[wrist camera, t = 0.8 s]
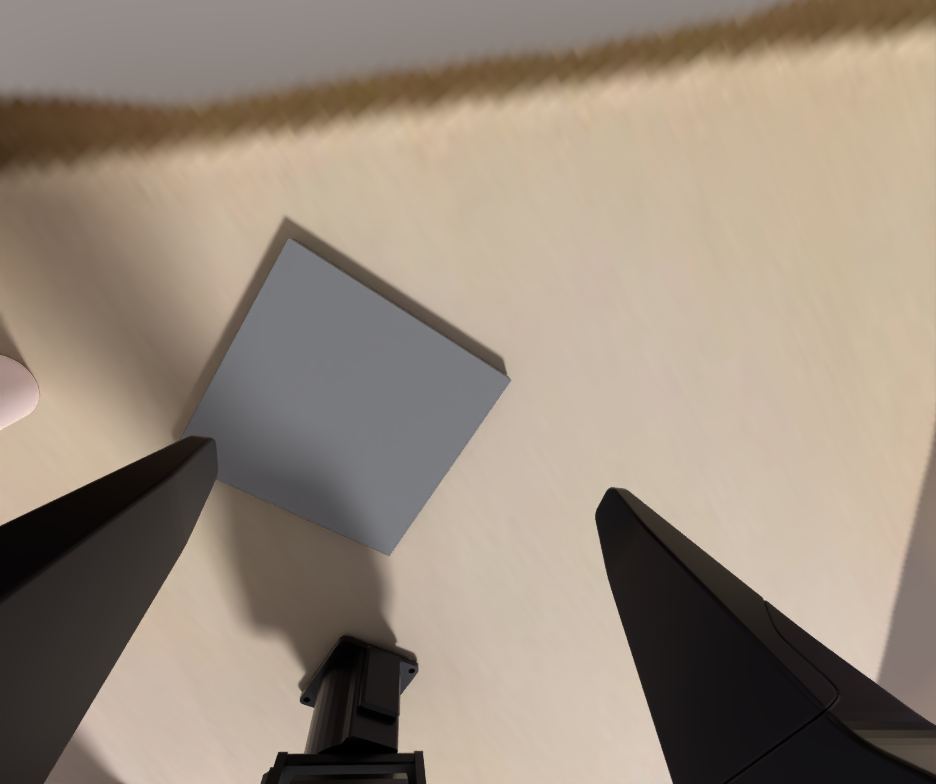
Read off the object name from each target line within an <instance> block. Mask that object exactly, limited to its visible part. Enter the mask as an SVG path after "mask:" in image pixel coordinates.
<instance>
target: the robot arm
mask: <svg viewBox="0 0 936 784" xmlns="http://www.w3.org/2000/svg"><path fill="white" fill-rule="evenodd" d="M217 474H218V458H217V446H216V441H215V439H214V438H212V437H208V436H200V435H191V436H188V437H186V438H184V439H182V440H180V441H177V442H175V443H173V444H171V445H169V446H167V447H165V448H163V449H161V450H159V451H156V452H154V453H152V454H150V455H148V456H146V457H144V458H142V459H140V460H138V461H135V462H133V463H131V464H129V465H127V466H125V467H123V468H121V469H119V470H117V471H114V472H112V473H110V474H108V475H106V476H104V477H102V478H100V479H98V480H95V481H93V482H91V483H89V484H87V485H85V486H83V487H81V488H79V489H77V490H74V491H72V492H70V493H68V494H66V495H64V496H62V497H60V498H58V499H56V500H53V501H51V502H49V503H47V504H45V505H43V506H41V507H39V508H37V509H35V510H32V511H30V512H28V513H26V514H24V515H22V516H20V517H18V518H16V519H14V520H11V521H9V522H7V523H5V524H3V525H1V526H0V784H44V782H45V781H46V779H47V777H48V776H49V774H50V772H51V771H52V769H53V767H54V766H55V764H56V762H57V761H58V759H59V757H60V756H61V754H62V752H63V751H64V749H65V747H66V746H67V744H68V742H69V741H70V739H71V737H72V735H73V734H74V732H75V730H76V729H77V727H78V725H79V724H80V722H81V720H82V719H83V717H84V715H85V714H86V712H87V710H88V709H89V707H90V705H91V704H92V702H93V700H94V699H95V697H96V695H97V694H98V692H99V690H100V689H101V687H102V685H103V684H104V682H105V680H106V679H107V677H108V675H109V674H110V672H111V670H112V668H113V667H114V665H115V663H116V662H117V660H118V658H119V657H120V655H121V653H122V652H123V650H124V648H125V647H126V645H127V643H128V642H129V640H130V638H131V637H132V635H133V633H134V632H135V630H136V628H137V627H138V625H139V623H140V622H141V620H142V618H143V617H144V615H145V613H146V612H147V610H148V608H149V607H150V605H151V603H152V601H153V600H154V598H155V596H156V595H157V593H158V591H159V590H160V588H161V586H162V585H163V583H164V581H165V580H166V578H167V576H168V575H169V573H170V571H171V570H172V568H173V566H174V565H175V563H176V561H177V560H178V558H179V556H180V554H181V553H182V551H183V549H184V547H185V546H186V544H187V542H188V539H189V537H190V535H191V533H192V531H193V529H194V527H195V524H196V522H197V520H198V518H199V516H200V513H201V511H202V509H203V507H204V504H205V502H206V500H207V498H208V496H209V493H210V491H211V489H212V487H213V484H214V482H215V480H216V478H217ZM595 520H596V525H597V530H598V535H599V539H600V544H601V549H602V554H603V558H604V563H605V568H606V572H607V576H608V580H609V583H610V587H611V590H612V593H613V596H614V600H615V603H616V606H617V609H618V612H619V615H620V618H621V622H622V625H623V628H624V631H625V634H626V637H627V640H628V644H629V647H630V650H631V653H632V656H633V659H634V663H635V666H636V669H637V672H638V675H639V678H640V681H641V685H642V688H643V691H644V694H645V697H646V700H647V703H648V707H649V710H650V713H651V716H652V719H653V722H654V726H655V729H656V732H657V735H658V738H659V741H660V744H661V748H662V751H663V754H664V757H665V760H666V763H667V766H668V770H669V773H670V776H671V779H672V782H673V784H936V725H934V724H933V723H931V722H929V721H928V720H926V719H925V718H923V717H922V716H921V715H919V714H918V713H916V712H915V711H913V710H912V709H911V708H909V707H908V706H906V705H905V704H904V703H902V702H901V701H900V700H898V699H897V698H896V697H894V696H893V695H891V694H890V693H889V692H887V691H886V690H885V689H883V688H882V687H880V686H879V685H878V684H876V683H875V682H874V681H872V680H871V679H869V678H868V677H867V676H865V675H864V674H863V673H861V672H860V671H858V670H857V669H856V668H854V667H853V666H852V665H850V664H849V663H847V662H846V661H845V660H843V659H842V658H841V657H839V656H838V655H837V654H835V653H834V652H833V651H831V650H830V649H828V648H827V647H826V646H824V645H823V644H822V643H820V642H819V641H818V640H816V639H815V638H814V637H812V636H811V635H810V634H808V633H807V632H806V631H804V630H803V629H802V628H801V627H799V626H798V625H797V624H795V623H794V622H793V621H792V620H790V619H789V618H788V617H786V616H785V615H784V614H783V613H781V612H780V611H779V610H778V609H776V608H775V607H774V606H773V605H771V604H770V603H769V602H768V601H766V600H763V598H762V597H761V596H760V595H759V594H757V593H756V592H755V591H754V590H752V589H751V588H750V587H749V586H747V585H746V584H745V583H744V582H742V581H741V580H740V579H739V578H737V577H736V576H735V575H734V574H732V573H731V572H730V571H729V570H727V569H726V568H725V567H724V566H722V565H721V564H720V563H719V562H717V561H716V560H715V559H713V558H712V557H711V556H710V555H708V554H707V553H706V552H705V551H703V550H702V549H701V548H700V547H698V546H697V545H696V544H695V543H693V542H692V541H691V540H690V539H688V538H687V537H686V536H685V535H683V534H682V533H681V532H680V531H678V530H677V529H676V528H675V527H673V526H672V525H671V524H670V523H668V522H667V521H666V520H665V519H663V518H662V517H661V516H660V515H658V514H657V513H656V512H654V511H653V510H652V509H651V508H649V507H648V506H647V505H646V504H644V503H643V502H642V501H641V500H639V499H638V498H637V497H636V496H634V495H633V494H632V493H631V492H629V491H628V490H626V489H623V488H615V487H611V488H609V489H608V490H607V491H606V493H605V495H604V497H603V498H602V500H601V502H600V504H599V506H598V508H597V510H596V514H595ZM411 668H412V669H411ZM417 673H418V663H417V662H416V661H413V660H410V659H408V658H405V657H402V656H400V655H397V654H394V653H392V652H389V651H386V650H384V649H381V648H378V647H376V646H373V645H370V644H368V643H365V642H362V641H360V640H357V639H354V638H352V637H349V636H343V637H341V638H340V639H339V640H338V641H337V643H336V644H335V646H334V647H333V649H332V650H331V651H330V653H329V654H328V656H327V657H326V659H325V660H324V661H323V663H322V664H321V666H320V667H319V669H318V670H317V671H316V673H315V674H314V676H313V677H312V679H311V680H310V681H309V683H308V684H307V686H306V687H305V689H304V690H303V691H302V693H301V697H300V702H301V703H302V704H304V705H307V706H310V707H313V708H314V711H313V716H312V720H311V725H310V729H309V734H308V738H307V743H306V747H305V752H304V754H288V752H278V755H277V758H276V761H275V764H274V767H270V770H269V771H268V772H267V773H265V774H264V775H263V778H262V781H261V784H426V778H425V768H424V758H423V751H414V753H397V752H398V730H399V715H400V695H401V694H402V693H403V691H404V690H405V689H406V687H407V686H408V685H409V683H410V682H411V681H412V679H413V678H414V677H415V675H416V674H417Z"/></svg>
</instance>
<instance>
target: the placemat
mask: <svg viewBox="0 0 936 784" xmlns="http://www.w3.org/2000/svg"><path fill="white" fill-rule="evenodd" d="M510 381H511V379H510V378H509V377H508V376H507V375H505V374H504V373H502V372H501V371H499V370H498V369H496V368H494V367H493V366H491V365H490V364H488V363H487V362H485V361H484V360H482V359H480V358H479V357H477V356H476V355H474V354H473V353H471V352H469V351H468V350H466V349H465V348H463V347H462V346H460V345H459V344H457V343H455V342H454V341H452V340H451V339H449V338H448V337H446V336H445V335H443V334H441V333H440V332H438V331H437V330H435V329H434V328H432V327H430V326H429V325H427V324H426V323H424V322H423V321H421V320H420V319H418V318H416V317H415V316H413V315H412V314H410V313H409V312H407V311H405V310H404V309H402V308H401V307H399V306H398V305H396V304H395V303H393V302H391V301H390V300H388V299H387V298H385V297H384V296H382V295H380V294H379V293H377V292H376V291H374V290H373V289H371V288H370V287H368V286H366V285H365V284H363V283H362V282H360V281H359V280H357V279H355V278H354V277H352V276H351V275H349V274H348V273H346V272H345V271H343V270H341V269H340V268H338V267H337V266H335V265H334V264H332V263H331V262H329V261H327V260H326V259H324V258H323V257H321V256H320V255H318V254H316V253H315V252H313V251H312V250H310V249H309V248H307V247H306V246H304V245H302V244H301V243H299V242H298V241H296V240H295V239H291V238H288V240H287V242H286V244H285V246H284V247H283V249H282V251H281V253H280V255H279V257H278V259H277V260H276V262H275V264H274V266H273V268H272V270H271V272H270V273H269V275H268V277H267V279H266V281H265V283H264V285H263V286H262V288H261V290H260V292H259V294H258V296H257V298H256V299H255V301H254V303H253V305H252V307H251V309H250V311H249V313H248V314H247V316H246V318H245V320H244V322H243V324H242V326H241V327H240V329H239V331H238V333H237V335H236V337H235V339H234V340H233V342H232V344H231V346H230V348H229V350H228V352H227V353H226V355H225V357H224V359H223V361H222V363H221V365H220V366H219V368H218V370H217V372H216V374H215V376H214V378H213V379H212V381H211V383H210V385H209V387H208V389H207V391H206V392H205V394H204V396H203V398H202V400H201V402H200V404H199V406H198V407H197V409H196V411H195V413H194V415H193V417H192V419H191V420H190V422H189V424H188V426H187V428H186V430H185V432H184V433H183V435H182V437H181V439H180V440H182V439H184V438H186V437H188V436H191V435H200V436H208V437H212V438H214V439H215V441H216V446H217V458H218V474H217V478H216V479H217V480H219V481H222V482H224V483H226V484H228V485H230V486H233V487H235V488H237V489H239V490H242V491H244V492H246V493H248V494H251V495H253V496H255V497H257V498H260V499H262V500H264V501H266V502H269V503H271V504H273V505H275V506H278V507H280V508H282V509H284V510H287V511H289V512H291V513H293V514H296V515H298V516H300V517H302V518H305V519H307V520H309V521H311V522H314V523H316V524H318V525H320V526H322V527H325V528H327V529H329V530H331V531H334V532H336V533H338V534H340V535H343V536H345V537H347V538H349V539H352V540H354V541H356V542H358V543H361V544H363V545H365V546H367V547H370V548H372V549H374V550H376V551H379V552H381V553H383V554H385V555H388V556H390V554H391V553H392V551H393V550H394V548H395V547H396V546H397V544H398V543H399V541H400V540H401V538H402V537H403V536H404V534H405V533H406V531H407V530H408V528H409V527H410V525H411V524H412V523H413V521H414V520H415V518H416V517H417V515H418V514H419V512H420V511H421V510H422V508H423V507H424V505H425V504H426V502H427V501H428V499H429V498H430V497H431V495H432V494H433V492H434V491H435V489H436V488H437V487H438V485H439V484H440V482H441V481H442V479H443V478H444V476H445V475H446V474H447V472H448V471H449V469H450V468H451V466H452V465H453V463H454V462H455V461H456V459H457V458H458V456H459V455H460V453H461V452H462V450H463V449H464V448H465V446H466V445H467V443H468V442H469V440H470V439H471V437H472V436H473V435H474V433H475V432H476V430H477V429H478V427H479V426H480V425H481V423H482V422H483V420H484V419H485V417H486V416H487V414H488V413H489V412H490V410H491V409H492V407H493V406H494V404H495V403H496V401H497V400H498V399H499V397H500V396H501V394H502V393H503V391H504V390H505V388H506V387H507V386H508V384H509V383H510Z"/></svg>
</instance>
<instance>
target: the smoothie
mask: <svg viewBox="0 0 936 784" xmlns="http://www.w3.org/2000/svg"><path fill="white" fill-rule="evenodd" d="M38 401H39V388H38V385H37V383H36V381H35V379H34V377H33V376H32V374H31V373H30V372H29V371H28V370H27V369H26V368H25V367H24V366H23V365H21V364H20V363H18V362H17V361H15V360H13V359H11V358H9V357H6V356H3V355H0V430H1V429H3V428H5V427H7V426H9V425H11V424H12V423H14V422H16V421H18V420H20V419H22V418H23V417H25V416H27V415H29V414H30V413H31V412H32V411H33V410H34V409H35V408H36V406H37V404H38Z"/></svg>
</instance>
